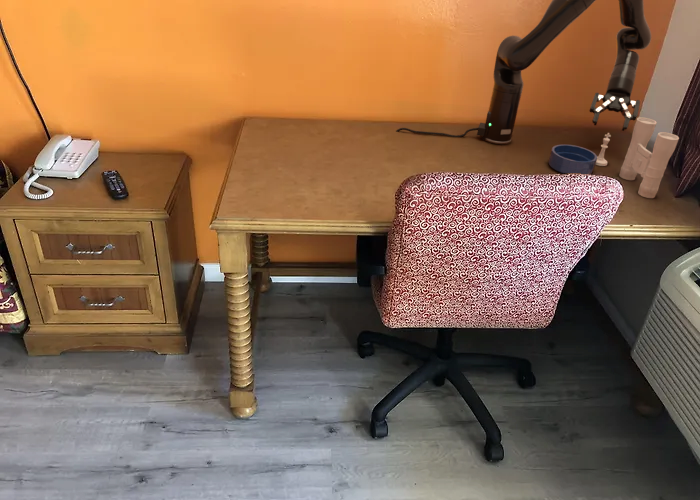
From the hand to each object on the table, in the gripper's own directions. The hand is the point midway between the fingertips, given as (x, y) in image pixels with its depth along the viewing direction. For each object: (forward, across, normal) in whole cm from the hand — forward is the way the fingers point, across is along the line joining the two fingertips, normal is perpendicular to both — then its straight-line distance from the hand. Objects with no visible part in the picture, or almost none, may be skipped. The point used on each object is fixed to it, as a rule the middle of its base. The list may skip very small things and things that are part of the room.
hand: (609, 126), depth 192 cm
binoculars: (+20, +11, -5) cm, 24 cm away
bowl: (+18, -8, -4) cm, 20 cm away
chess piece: (+11, 0, +3) cm, 12 cm away
